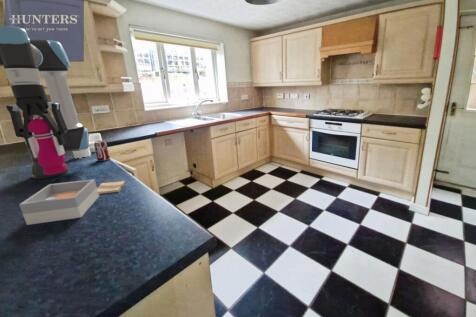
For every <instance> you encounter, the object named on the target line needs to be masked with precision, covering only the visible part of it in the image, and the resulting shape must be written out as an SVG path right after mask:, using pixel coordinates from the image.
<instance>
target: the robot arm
mask: <svg viewBox="0 0 476 317" xmlns="http://www.w3.org/2000/svg"><path fill="white" fill-rule="evenodd" d="M0 67H3V68H4V72H5V74H6V77H7V80H8V82H9V83H10V84H11V86H10V89H11V91H12V94H13V97H14V98H15V99H16V102H15V103H14V104H10V105H6V106H5V108H6V110H7V111H8V113H9V114H10V119H11V122H12V125H13V126H12V127H13V129H14V134H15V137H17V138H23V139H24V142H25V146H26V149H27V151H28V155H29V157H30V160H31V163H32V166H31V176H32V178H33V179H34V180H44V179H49V178H54V177H57V176H58V177H59V176H61V175H65V173H68V172H69V171H70V170H69V166H68V165H67V163H66V162H65V161H64V162H63V164H65V165H66V168H67V169H66V170H65V171H63V172H60V173H57V174H52V175H45V174H44V172H43V168H44V167H43V166H41V165H39V163H38V153H39V145H38V142H37V140H36V139H34V138H35V137H34V136H33V135H34V133H33V132H31V131H30V130H29V128H28V123H29V122H30V121H31V120H33V119H35V118H34V117H33V116H34V114H36V115H40V117H41V118H43V119H44V121H45V122H46V123H47V125H48V126H49V128H50V129H51V132H53V135H54V136H53V141H54V143H55V146H56V149H57V152H58V156H61V155H63V154H64V155H65V154H66V153H70V152H73V151H78V150H79V151H80V150H84V149H87V148H88V147H89V129H88V127H84V125H83V124H82V123H80V122H79V118H78V114H77V111H76V108H75V104H74V101H73V97H72V94H71V90H70V87H69V83H68V80H67V76H66V75H67V74H68V72H69V69H70V68H71V63H70V60H69V57H68V55H67V53H66V51H65V49H64V47H63V45H62V43H60V41H57V40H52V39H51V40H49V39H30V38H29V34H28V32H27V31H26V30H25V29H24V28H21V27H18V26H13V25H3V24H2V25H0ZM41 75H42V76H43V79H44V82H45V85H46V88H47V91H48V94H49V98H50V100H51V102H50V101H49V99H48V98H47V94H46V91H45V86H44V85H43V84H42V82H43V80H42V76H41ZM48 109H51V113H52V114H53V115H51V113H50V111H49V110H48ZM20 110H21V111H22V114H21V112H20ZM52 116H53V117H52ZM22 118H23V119H22Z"/></svg>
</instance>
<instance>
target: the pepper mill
mask: <svg viewBox="0 0 476 317" xmlns="http://www.w3.org/2000/svg"><path fill="white" fill-rule="evenodd" d="M33 117H34V118H33V120H31V121H30V122H29V123H28V128H29V130H30V131H31V132H33V133H34V135H33V136H34V137H35V138H34V139H36V140H37V142H38V145H39V153H38V163H39V165H41V166H43V167H44V168H43V172H44V174H45V175H52V174H57V173H60V172H63V171H65V170H66V169H67V168H66V165H67V164H66V163H65V164H66V165H65V164H63V162H65V160H66V157H65V154H63V155H61V156H58V152H57V149H56V146H55V143H54V141H53V136H54V135H53V132H51V129H50V128H49V126H48V125H47V123H46V122H45V121H44V119H43V118H42V117H40V115H36V114H34V116H33Z"/></svg>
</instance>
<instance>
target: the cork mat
mask: <svg viewBox="0 0 476 317" xmlns="http://www.w3.org/2000/svg"><path fill="white" fill-rule="evenodd" d="M125 184H126V180H118V181H117V180H116V181H110V182H109V181H108V182H102V183H100V185H99V186H97V190H98V193H99V195H104V194H105V195H106V194H112V193H120V191H121V190H122V188H123V187H124V186H125Z"/></svg>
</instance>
